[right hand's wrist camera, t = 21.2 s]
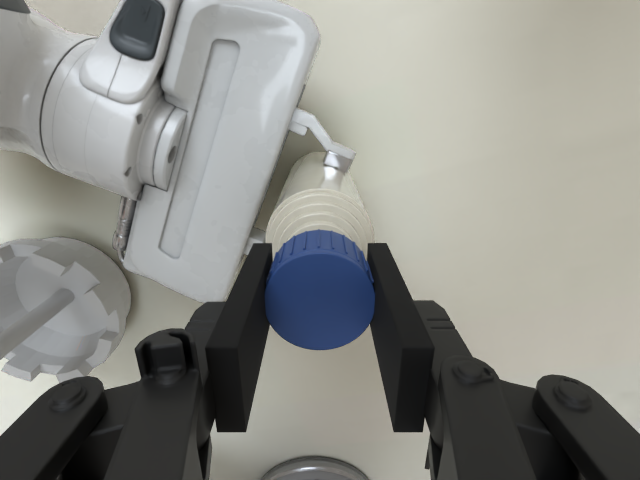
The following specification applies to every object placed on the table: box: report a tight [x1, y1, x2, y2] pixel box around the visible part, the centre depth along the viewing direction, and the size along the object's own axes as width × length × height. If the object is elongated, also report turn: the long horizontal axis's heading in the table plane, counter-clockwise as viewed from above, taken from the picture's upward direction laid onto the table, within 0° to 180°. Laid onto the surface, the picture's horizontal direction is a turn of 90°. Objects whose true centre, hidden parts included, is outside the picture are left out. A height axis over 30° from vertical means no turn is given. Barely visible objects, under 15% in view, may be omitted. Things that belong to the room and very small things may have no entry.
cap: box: [265, 229, 375, 350], centre depth 14 cm, size 4×4×2 cm
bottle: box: [265, 151, 374, 261], centre depth 22 cm, size 6×6×19 cm
